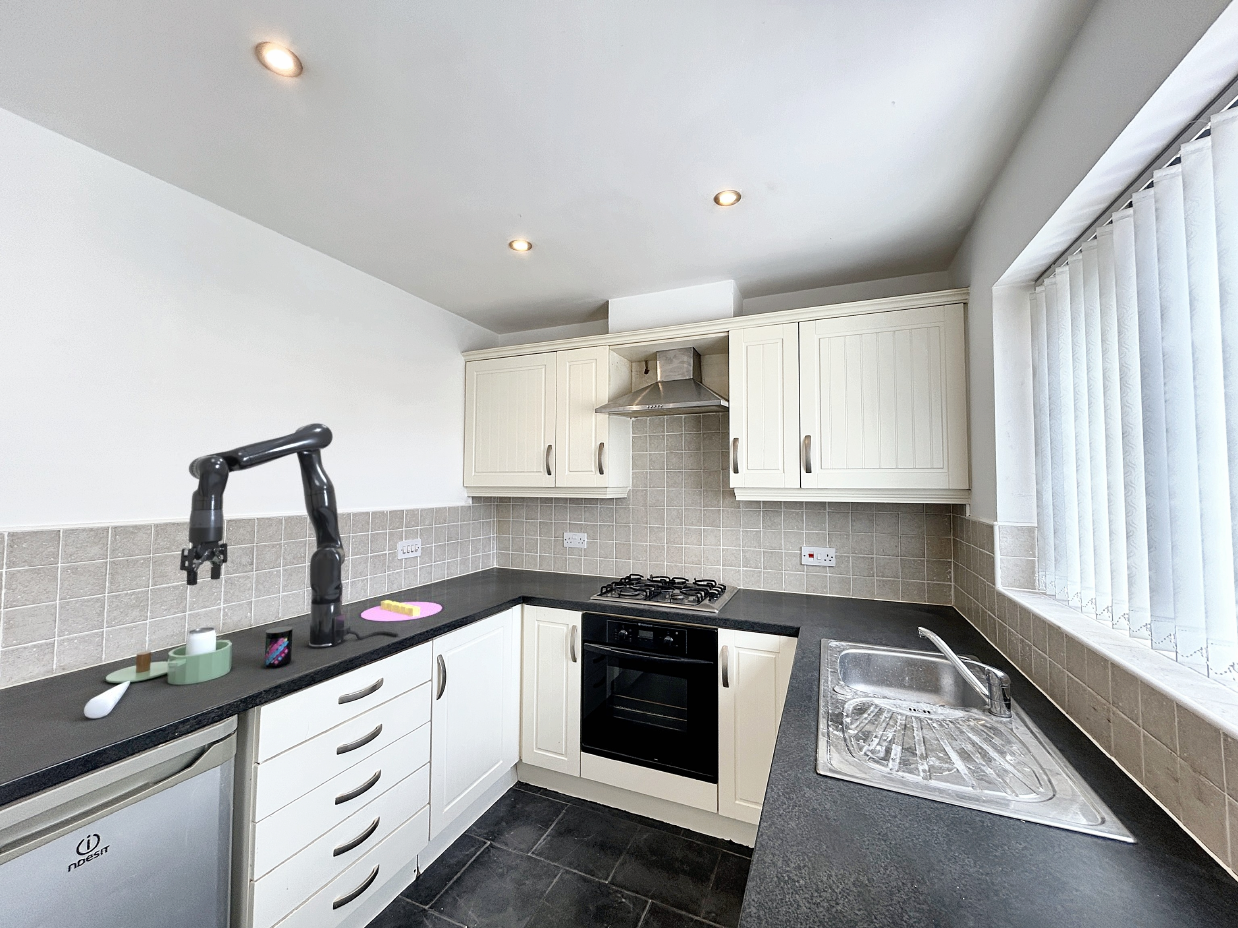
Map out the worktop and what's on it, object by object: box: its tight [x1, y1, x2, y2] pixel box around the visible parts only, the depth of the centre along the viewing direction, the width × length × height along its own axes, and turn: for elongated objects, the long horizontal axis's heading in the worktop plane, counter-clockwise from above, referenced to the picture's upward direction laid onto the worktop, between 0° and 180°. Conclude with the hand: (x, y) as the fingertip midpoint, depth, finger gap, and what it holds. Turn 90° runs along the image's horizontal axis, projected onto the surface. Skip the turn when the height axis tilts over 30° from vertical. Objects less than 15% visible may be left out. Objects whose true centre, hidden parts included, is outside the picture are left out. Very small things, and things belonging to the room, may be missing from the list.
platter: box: [360, 599, 443, 622], centre depth 209 cm, size 32×32×3 cm
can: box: [185, 626, 217, 656], centre depth 138 cm, size 6×6×12 cm
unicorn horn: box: [83, 681, 131, 720], centre depth 122 cm, size 5×24×5 cm, turn 29°
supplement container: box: [264, 625, 294, 669], centre depth 146 cm, size 7×7×10 cm
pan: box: [166, 639, 233, 686], centre depth 138 cm, size 14×19×8 cm
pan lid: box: [105, 650, 168, 684], centre depth 138 cm, size 15×15×6 cm
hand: (204, 582), depth 139 cm, fingers open, 8 cm apart
